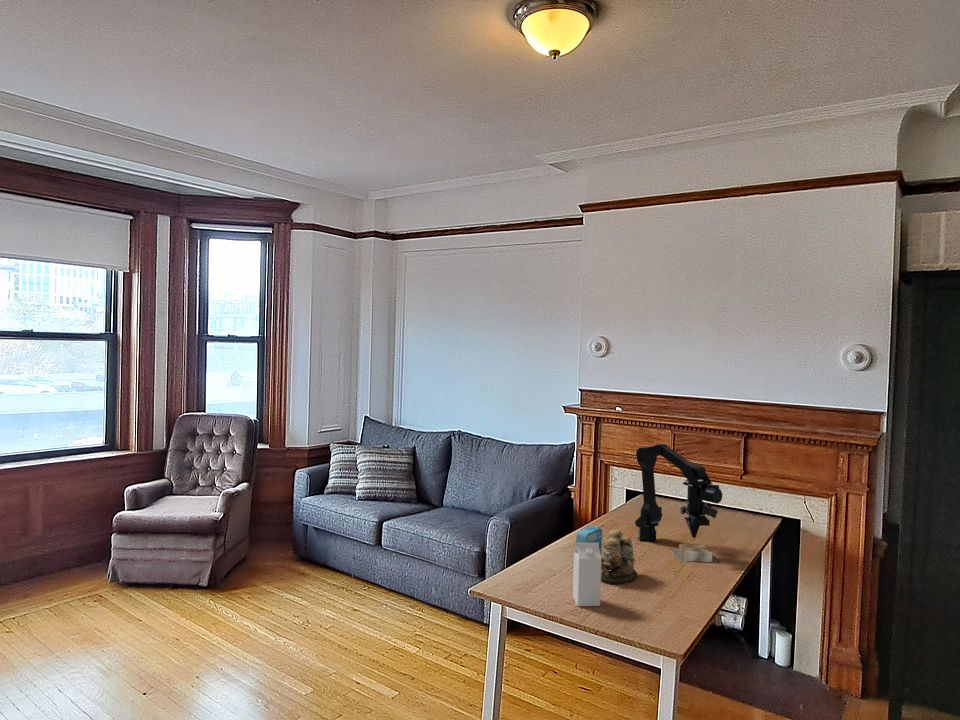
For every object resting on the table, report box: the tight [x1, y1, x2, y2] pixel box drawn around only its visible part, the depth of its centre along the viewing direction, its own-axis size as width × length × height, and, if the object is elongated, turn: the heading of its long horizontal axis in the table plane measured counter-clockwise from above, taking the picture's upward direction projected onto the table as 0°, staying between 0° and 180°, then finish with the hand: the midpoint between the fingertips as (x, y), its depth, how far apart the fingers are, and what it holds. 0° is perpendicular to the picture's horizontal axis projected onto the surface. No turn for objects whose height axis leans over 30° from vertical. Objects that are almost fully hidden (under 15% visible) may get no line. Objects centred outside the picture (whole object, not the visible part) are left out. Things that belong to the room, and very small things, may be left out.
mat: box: [670, 548, 719, 564], centre depth 251 cm, size 14×15×1 cm
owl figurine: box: [601, 529, 638, 586], centre depth 227 cm, size 18×12×17 cm, turn 140°
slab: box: [678, 543, 713, 563], centre depth 249 cm, size 10×4×9 cm
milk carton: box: [572, 543, 602, 607], centre depth 204 cm, size 7×7×19 cm
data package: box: [575, 525, 603, 555], centre depth 244 cm, size 12×4×12 cm, turn 140°
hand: (693, 537), depth 251 cm, fingers closed
